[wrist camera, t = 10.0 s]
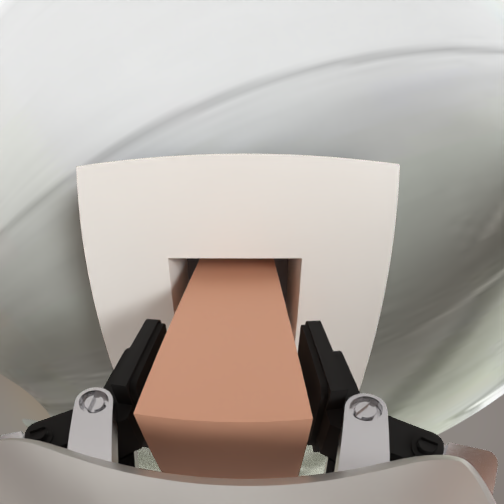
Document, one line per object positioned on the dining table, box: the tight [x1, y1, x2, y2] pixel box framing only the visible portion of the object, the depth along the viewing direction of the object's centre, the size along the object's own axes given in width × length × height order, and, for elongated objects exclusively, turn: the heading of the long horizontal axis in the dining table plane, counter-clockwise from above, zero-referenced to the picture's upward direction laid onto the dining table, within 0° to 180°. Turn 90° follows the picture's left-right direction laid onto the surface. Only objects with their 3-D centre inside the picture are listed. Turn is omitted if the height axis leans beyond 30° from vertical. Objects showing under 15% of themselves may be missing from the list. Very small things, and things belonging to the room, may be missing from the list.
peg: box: [133, 258, 313, 479], centre depth 12 cm, size 4×4×12 cm
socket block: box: [76, 154, 400, 390], centre depth 16 cm, size 15×15×5 cm
